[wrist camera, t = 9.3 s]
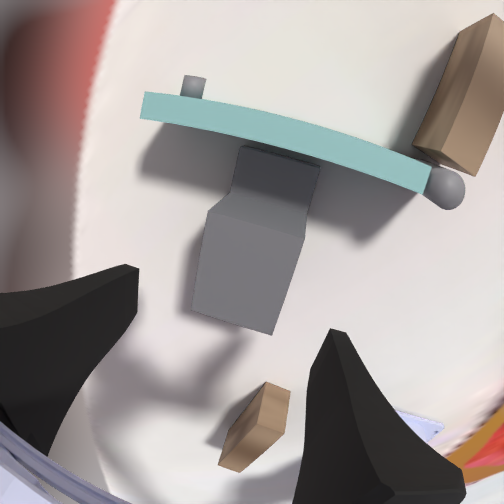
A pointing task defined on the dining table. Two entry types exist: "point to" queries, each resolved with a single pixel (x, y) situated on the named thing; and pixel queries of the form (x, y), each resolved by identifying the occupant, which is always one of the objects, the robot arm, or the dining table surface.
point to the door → (304, 141)
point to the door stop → (254, 240)
